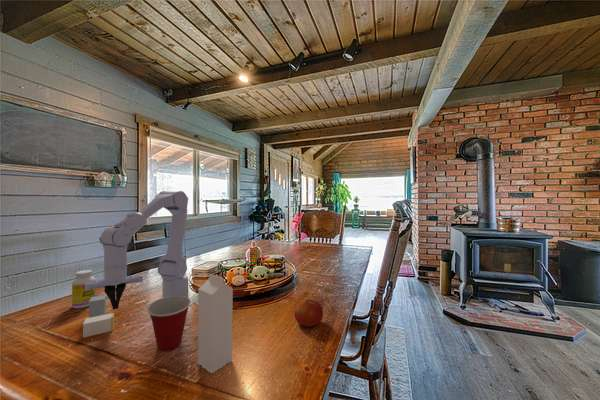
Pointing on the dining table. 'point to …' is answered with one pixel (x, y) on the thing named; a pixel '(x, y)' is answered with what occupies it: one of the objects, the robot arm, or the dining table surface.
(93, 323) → the cream block
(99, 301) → the grey block
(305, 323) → the tomato
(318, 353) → the dining table surface
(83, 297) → the supplement bottle
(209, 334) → the milk
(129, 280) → the robot arm
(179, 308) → the plastic cup
